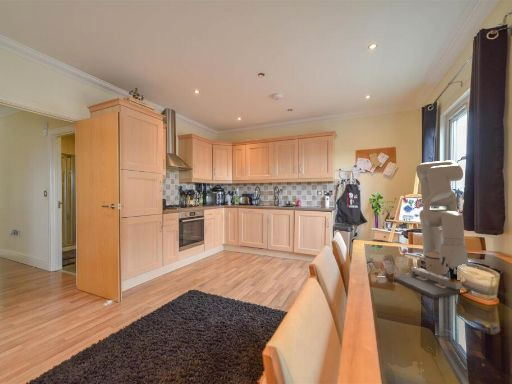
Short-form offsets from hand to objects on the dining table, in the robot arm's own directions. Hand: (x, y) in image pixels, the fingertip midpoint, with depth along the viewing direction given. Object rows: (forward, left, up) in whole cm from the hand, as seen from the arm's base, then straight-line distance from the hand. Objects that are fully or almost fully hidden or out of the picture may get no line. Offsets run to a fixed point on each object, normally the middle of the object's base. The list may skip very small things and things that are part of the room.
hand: (455, 281), depth 101 cm
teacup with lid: (-9, -18, -3) cm, 20 cm away
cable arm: (+5, -6, 0) cm, 8 cm away
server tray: (+8, -6, -3) cm, 11 cm away
